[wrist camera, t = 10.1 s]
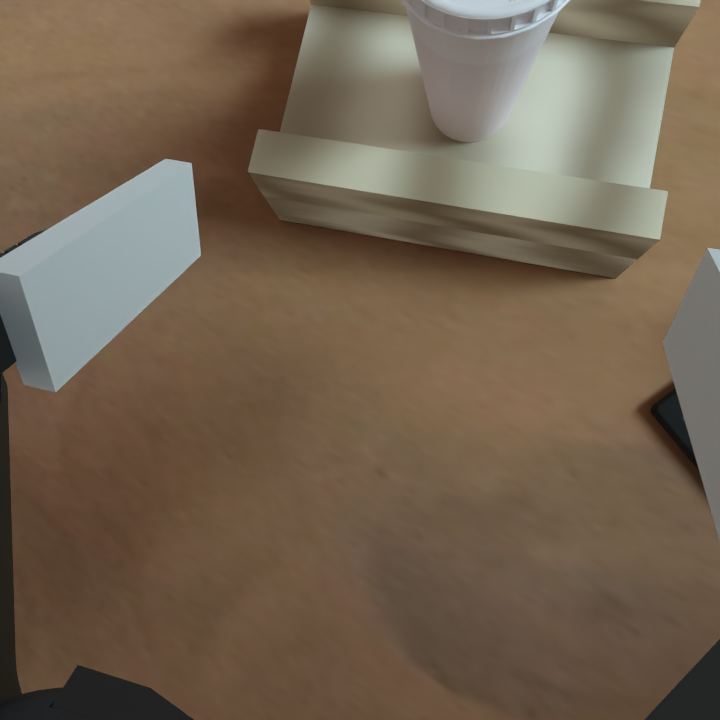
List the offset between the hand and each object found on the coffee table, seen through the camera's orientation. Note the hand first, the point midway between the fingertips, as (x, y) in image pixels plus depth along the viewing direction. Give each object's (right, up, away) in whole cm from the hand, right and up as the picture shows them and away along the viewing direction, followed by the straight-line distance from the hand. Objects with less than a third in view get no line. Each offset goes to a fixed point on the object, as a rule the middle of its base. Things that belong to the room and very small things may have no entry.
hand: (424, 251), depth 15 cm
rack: (+4, +9, +15) cm, 17 cm away
